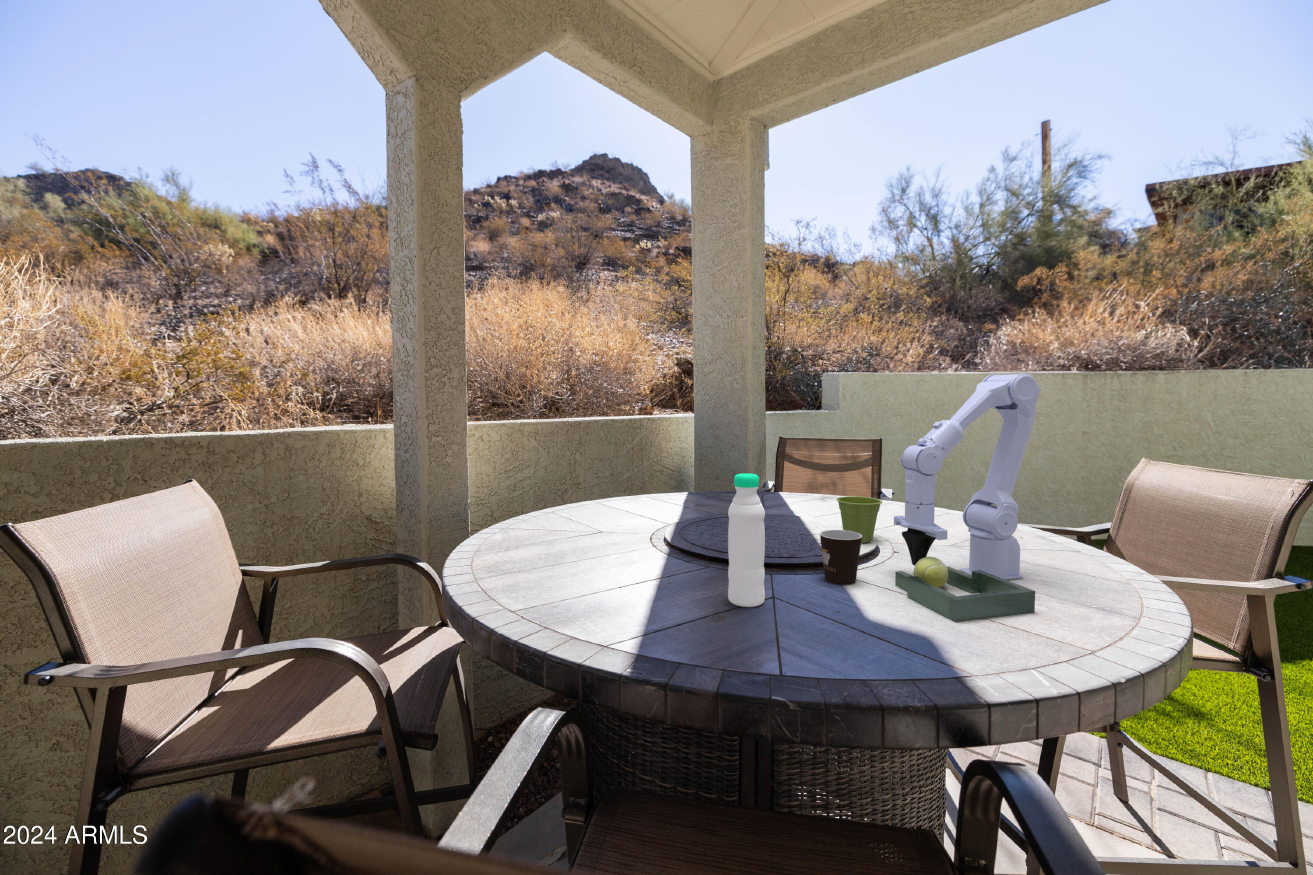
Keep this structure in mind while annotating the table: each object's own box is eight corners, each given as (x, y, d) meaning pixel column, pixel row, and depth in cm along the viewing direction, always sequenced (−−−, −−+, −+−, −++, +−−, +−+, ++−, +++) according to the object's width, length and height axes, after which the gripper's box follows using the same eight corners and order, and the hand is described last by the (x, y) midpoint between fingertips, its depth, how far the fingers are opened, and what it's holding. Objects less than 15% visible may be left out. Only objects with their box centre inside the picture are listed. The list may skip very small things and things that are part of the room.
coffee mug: (864, 587, 121) (864, 540, 120) (820, 585, 122) (821, 538, 122) (856, 570, 132) (857, 527, 131) (817, 568, 134) (817, 526, 133)
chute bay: (956, 579, 126) (956, 561, 125) (1034, 612, 107) (1035, 590, 106) (886, 586, 122) (887, 567, 121) (955, 621, 103) (955, 599, 102)
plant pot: (888, 546, 153) (889, 503, 152) (843, 546, 153) (843, 504, 152) (872, 535, 164) (873, 495, 164) (830, 535, 165) (830, 495, 164)
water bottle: (767, 597, 116) (767, 472, 114) (761, 609, 109) (762, 477, 107) (732, 593, 118) (732, 471, 116) (724, 605, 112) (724, 476, 110)
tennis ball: (953, 559, 117) (935, 550, 124) (921, 565, 117) (905, 555, 124) (956, 589, 118) (938, 578, 125) (925, 595, 118) (908, 584, 124)
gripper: (882, 497, 130) (880, 557, 131) (926, 509, 116) (924, 576, 117) (909, 495, 131) (908, 554, 132) (957, 507, 117) (955, 574, 118)
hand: (918, 565), depth 125 cm, fingers closed
